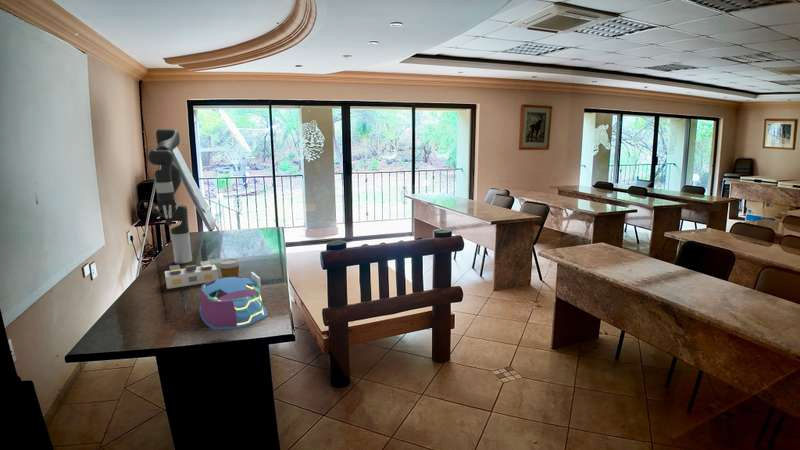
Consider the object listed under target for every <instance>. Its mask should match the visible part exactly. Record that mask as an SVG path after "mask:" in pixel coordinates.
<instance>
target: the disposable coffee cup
mask: <svg viewBox="0 0 800 450" xmlns="http://www.w3.org/2000/svg"><path fill="white" fill-rule="evenodd" d="M239 266H240V261H239V259H237V258H227V259H224V260H223V259H222V260H220V261H219V263H218V267H219V268H220V273H221V278H227V277H239V268H240V267H239Z"/></svg>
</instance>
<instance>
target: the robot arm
mask: <svg viewBox="0 0 800 450" xmlns="http://www.w3.org/2000/svg"><path fill="white" fill-rule="evenodd" d="M155 131H156V132H155V136H156V138H155V139H156V143H157V145H156V147H154V148H153V149H151V150H150V151H149V153H148V157H147V159H148V161H149V163H150V164H152V165H153V166H154V165H155V166H160V169H157V170H155V172H154V177H155V188H156V189H155V191H156V197H157V204H156V206H155V207H153V209H152V211H154V212H155V213H156V214H157V215H158V216H159V217H160V218H162V219H163V218H164V219H165V224H166V225H167V226H168V227H169V226H172V225H173V223H174V222H181V223H180V224H178V225H176V226H174V227H172V228H171V229H170V234H171V242H172V243H171V244H172V250H173V252H172V253H173V259H174V263H175V264H177V265H181V264H188V263H190V262H193V255H192V245H191V237H190V228H189V219H188V218H189V217H188V206H187V205H185V204H177V202H176V200H175V194H176V192H177V191H178V189H179V187H180V185H181V184H182V177H181V170H180V168H179V166H178V165H177V164H176V163H175V162H174V153H173V151H174V150H175V149H176V148H177V147H178V146H179V145H180V141H181V140H180V139H181V138H180V133H179V131H178V130H177V129H174V128H173V129H172V128H160V129H159V128H158V129H157V130H155ZM160 210H161V211H162V212H163V213H161V211H160Z"/></svg>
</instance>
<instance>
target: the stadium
mask: <svg viewBox="0 0 800 450" xmlns="http://www.w3.org/2000/svg"><path fill="white" fill-rule="evenodd" d="M250 275H251V278H249V277H248V278H247V277H242V276H238V277H227V278H222V277H221V278H218V280H214V281H211V282H207V283H202V285H201V286H200V290H199V303H200V304H199V305H200V306H199V316H200V318H201V320H202V322H203V323H205V325H206V326H208V328H211V329H212V330H228V329H229V330H232V329H241V328H246V327H249V326H253V325H254V324H256V323H257V322H260V321H262V320H263V319H265V318H268V317H269V314H268V312H267V309H266V308H265V306H264V305H263V300H262V296H261V289H260V287H262V286H261V285H262V284H261V277H260V276H258V275H257V274H256V273H255V272H253V271H251V272H250ZM224 293H226V294H224ZM218 294H224V295H222V296H221V297H219V298H218ZM256 294H257V296H256ZM252 296H253V297H252Z"/></svg>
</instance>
